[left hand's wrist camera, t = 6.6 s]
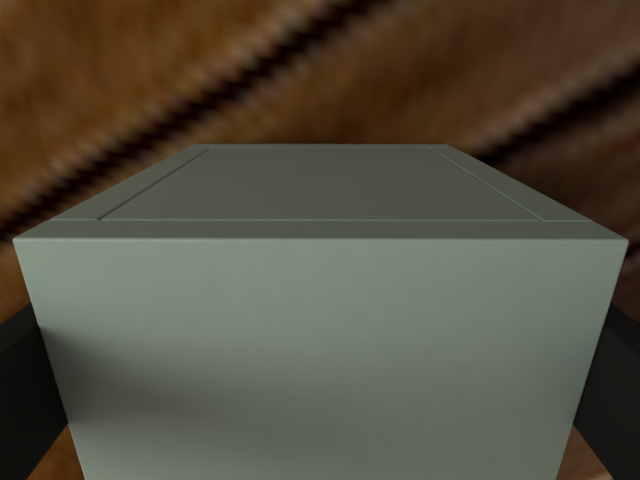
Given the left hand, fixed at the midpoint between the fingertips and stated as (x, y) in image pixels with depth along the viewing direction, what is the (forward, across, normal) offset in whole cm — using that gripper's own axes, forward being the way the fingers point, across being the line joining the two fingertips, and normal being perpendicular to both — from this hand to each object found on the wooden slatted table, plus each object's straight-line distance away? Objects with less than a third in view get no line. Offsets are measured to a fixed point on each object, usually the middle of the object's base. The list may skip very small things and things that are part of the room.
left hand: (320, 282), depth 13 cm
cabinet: (+7, 0, -6) cm, 10 cm away
